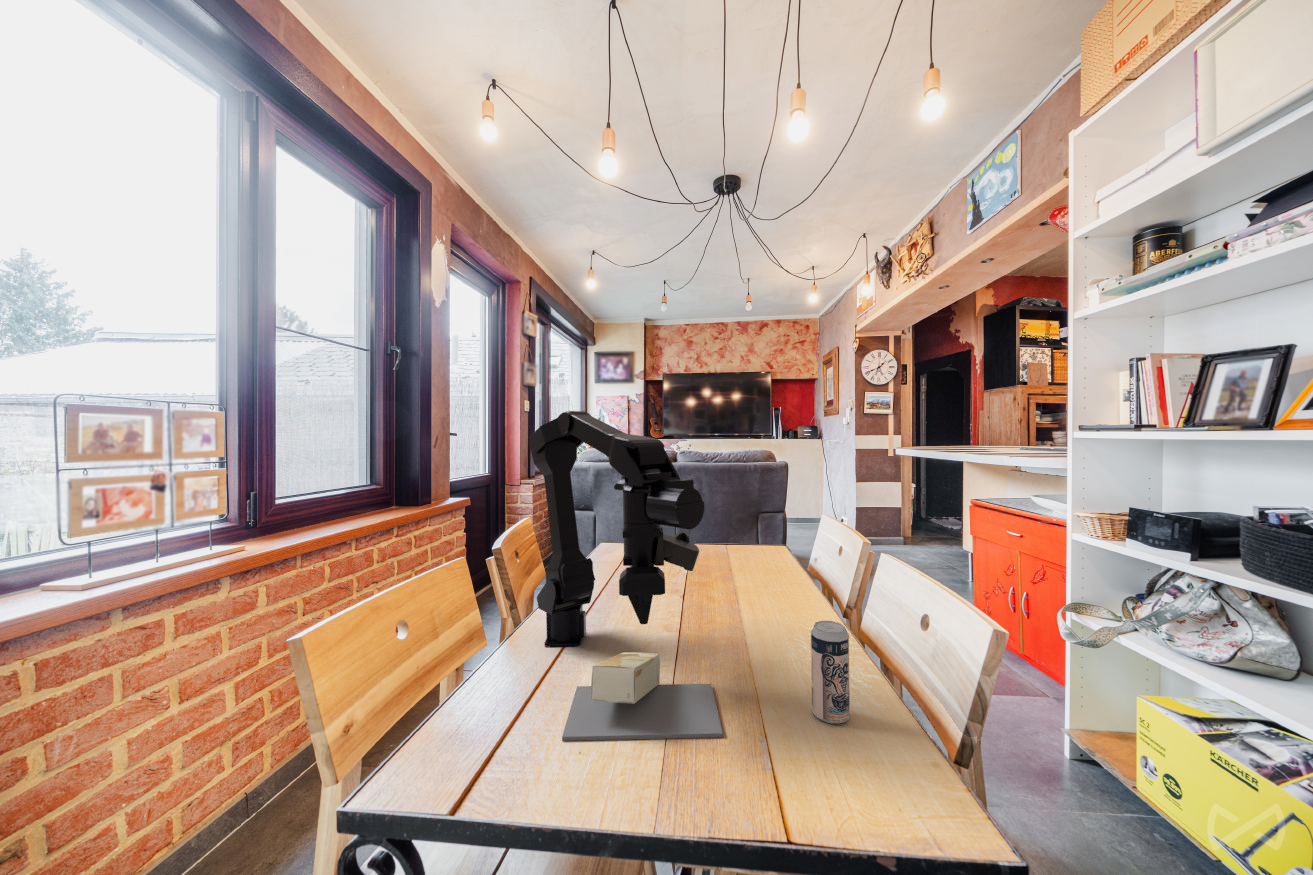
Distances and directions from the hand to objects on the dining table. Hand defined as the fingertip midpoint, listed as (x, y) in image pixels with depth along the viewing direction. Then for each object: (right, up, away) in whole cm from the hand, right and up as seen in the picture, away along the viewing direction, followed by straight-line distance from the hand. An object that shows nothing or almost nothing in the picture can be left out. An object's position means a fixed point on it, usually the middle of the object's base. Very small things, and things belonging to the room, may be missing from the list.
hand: (644, 623), depth 74 cm
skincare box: (-1, -7, +1) cm, 7 cm away
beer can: (+25, -9, -9) cm, 28 cm away
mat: (0, -9, -8) cm, 12 cm away
